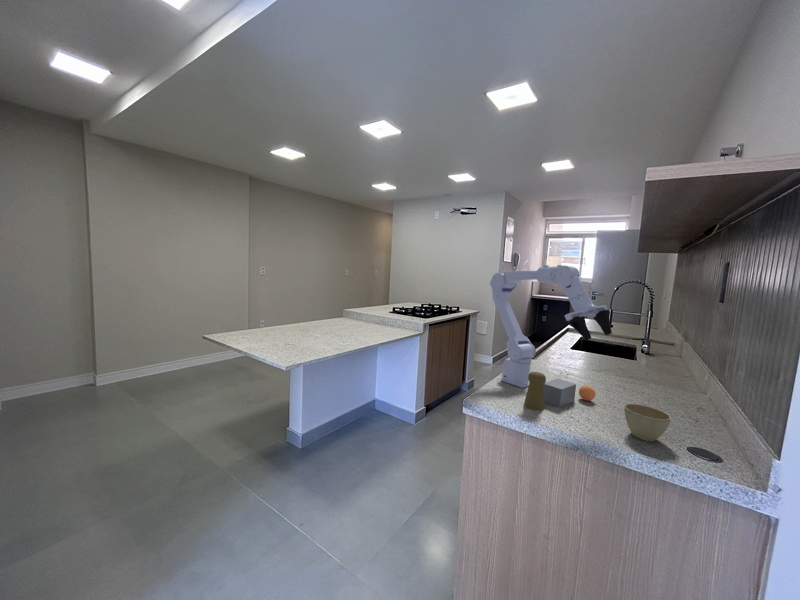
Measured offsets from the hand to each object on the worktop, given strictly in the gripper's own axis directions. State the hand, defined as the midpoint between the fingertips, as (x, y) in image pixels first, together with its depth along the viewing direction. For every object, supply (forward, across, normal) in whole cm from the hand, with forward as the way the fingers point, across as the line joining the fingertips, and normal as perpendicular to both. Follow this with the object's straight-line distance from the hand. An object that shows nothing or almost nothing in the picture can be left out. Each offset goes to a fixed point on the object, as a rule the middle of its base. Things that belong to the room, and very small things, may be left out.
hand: (598, 336), depth 101 cm
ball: (+15, 0, +18) cm, 23 cm away
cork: (+15, -23, +13) cm, 30 cm away
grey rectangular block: (+15, -11, +18) cm, 26 cm away
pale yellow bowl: (+29, -4, -2) cm, 29 cm away
